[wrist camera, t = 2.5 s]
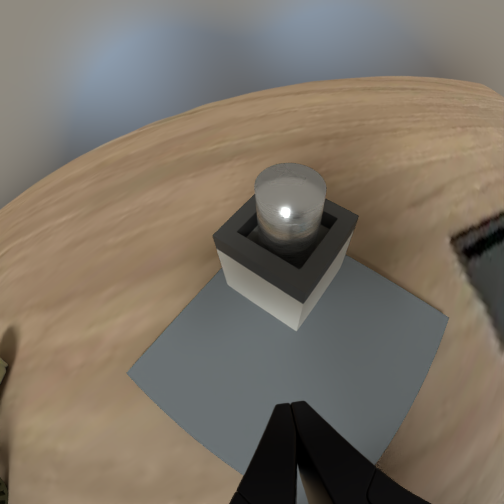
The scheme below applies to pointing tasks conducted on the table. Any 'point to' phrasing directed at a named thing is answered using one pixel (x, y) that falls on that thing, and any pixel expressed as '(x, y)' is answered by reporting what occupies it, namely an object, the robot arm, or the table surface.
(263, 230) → the button
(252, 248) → the housing
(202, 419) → the mat
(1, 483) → the cannon
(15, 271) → the table surface
